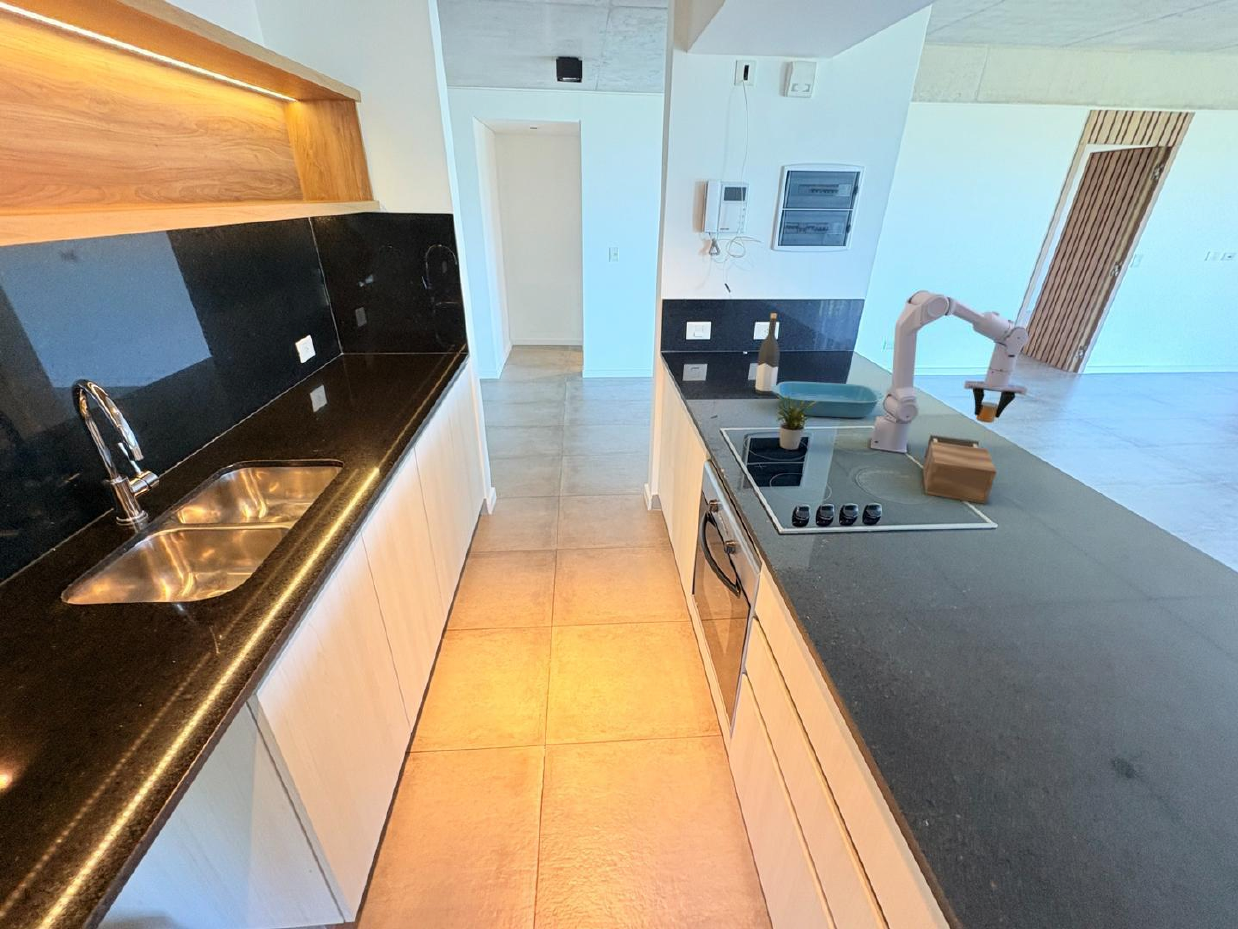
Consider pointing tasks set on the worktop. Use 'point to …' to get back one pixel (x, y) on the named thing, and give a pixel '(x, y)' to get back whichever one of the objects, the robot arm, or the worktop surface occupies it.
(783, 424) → the house plant
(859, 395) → the casserole dish
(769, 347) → the wine bottle
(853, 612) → the worktop surface
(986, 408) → the jar
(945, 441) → the drawer
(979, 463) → the wooden box
